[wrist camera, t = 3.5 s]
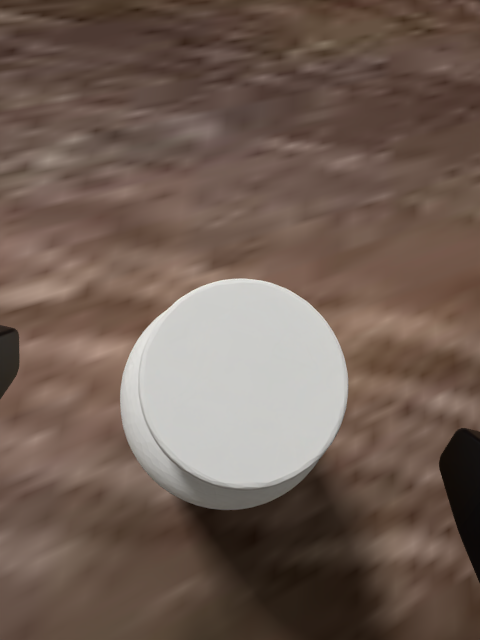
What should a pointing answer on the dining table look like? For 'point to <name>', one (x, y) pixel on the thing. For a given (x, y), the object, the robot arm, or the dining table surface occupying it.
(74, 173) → the dining table surface
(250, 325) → the supplement bottle
